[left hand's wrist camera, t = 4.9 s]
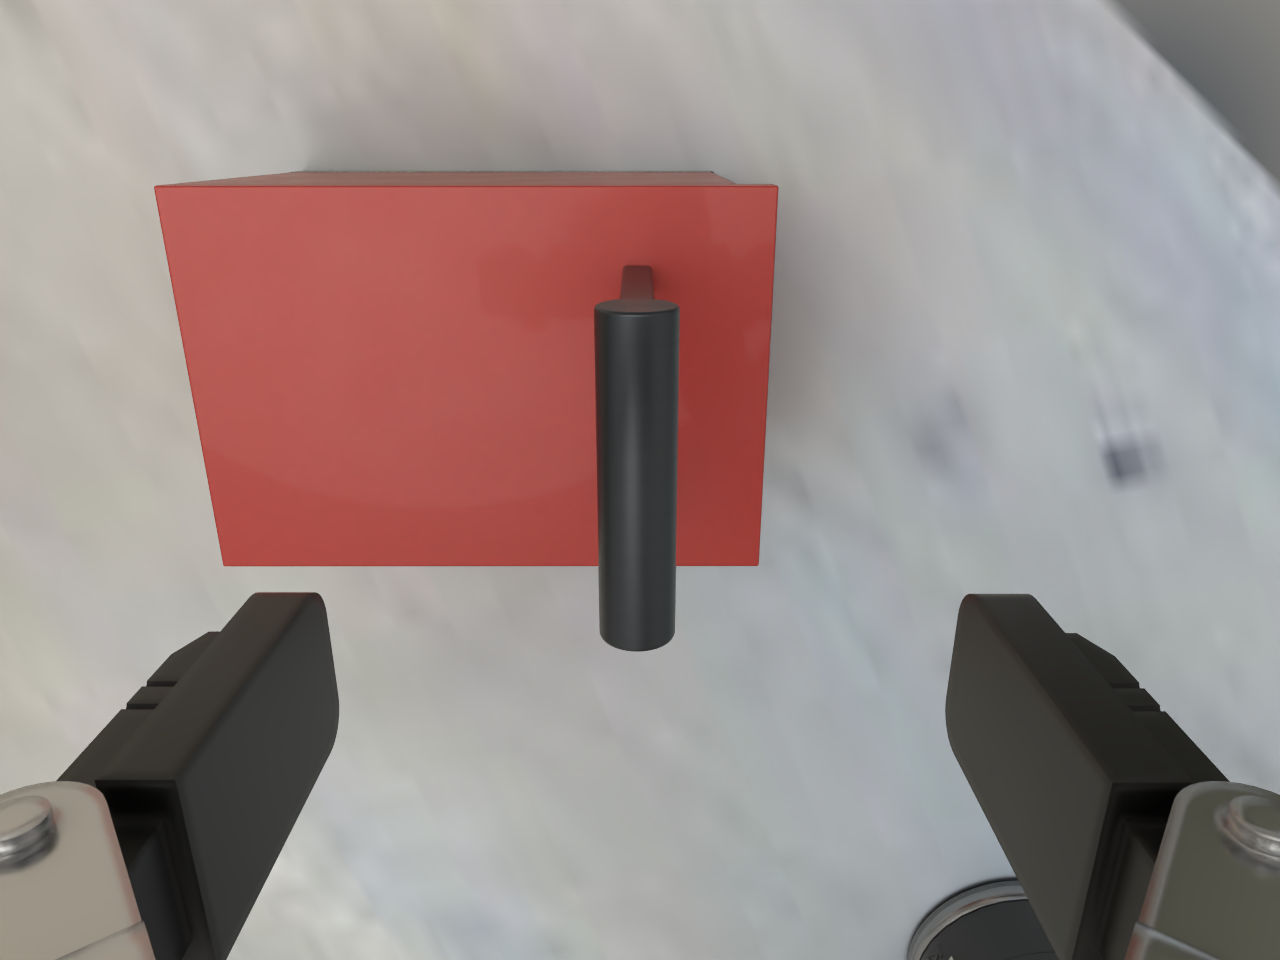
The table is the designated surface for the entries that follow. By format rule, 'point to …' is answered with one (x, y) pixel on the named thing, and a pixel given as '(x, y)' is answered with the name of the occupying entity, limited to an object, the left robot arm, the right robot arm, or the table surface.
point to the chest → (480, 177)
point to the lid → (482, 376)
